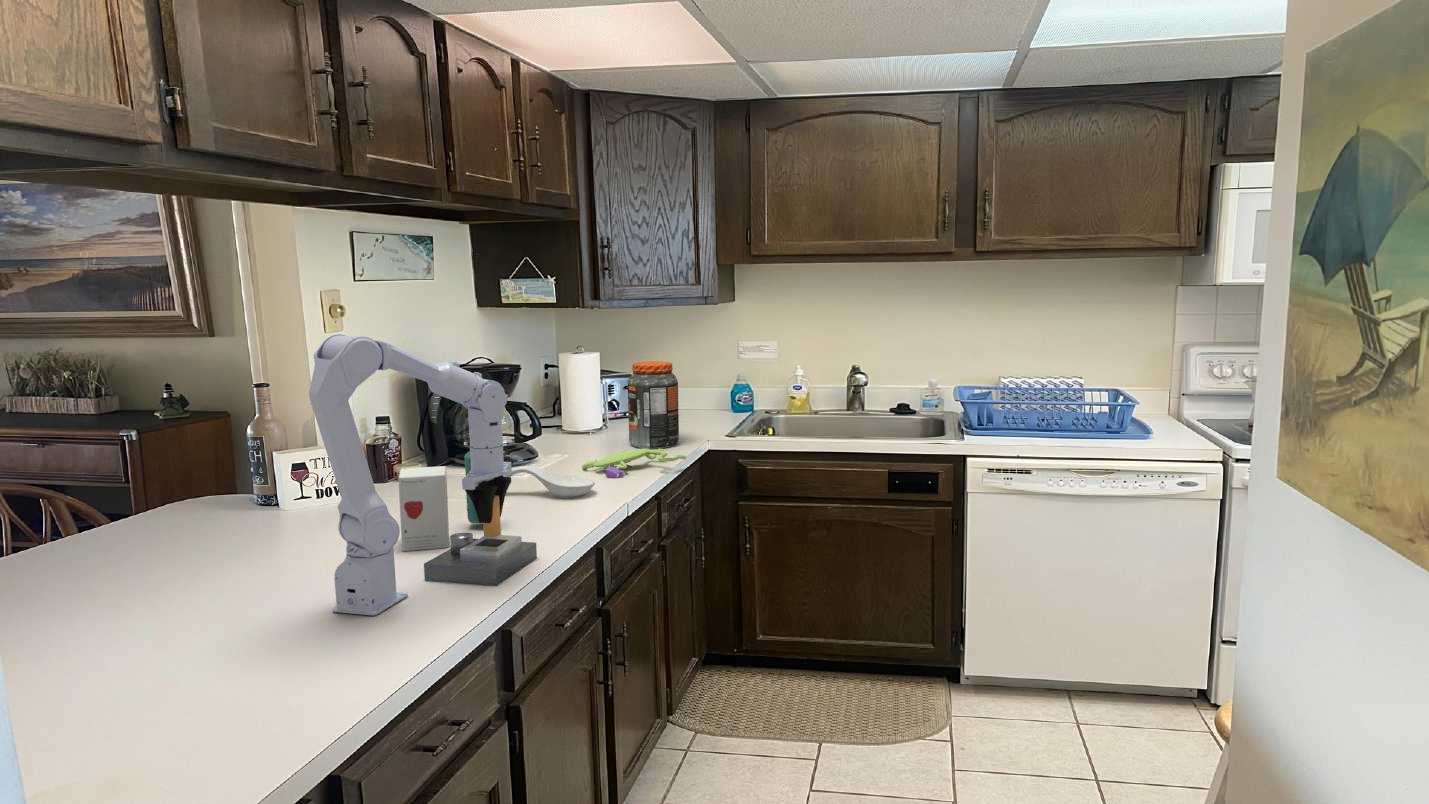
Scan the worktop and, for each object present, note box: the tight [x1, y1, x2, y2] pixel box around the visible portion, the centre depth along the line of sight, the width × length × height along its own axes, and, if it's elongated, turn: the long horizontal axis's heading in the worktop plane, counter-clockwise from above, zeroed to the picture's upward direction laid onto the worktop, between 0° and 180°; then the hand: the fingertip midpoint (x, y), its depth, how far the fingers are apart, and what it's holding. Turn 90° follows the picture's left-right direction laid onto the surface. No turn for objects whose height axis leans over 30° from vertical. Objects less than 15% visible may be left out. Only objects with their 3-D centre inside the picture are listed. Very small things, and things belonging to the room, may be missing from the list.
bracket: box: [460, 534, 523, 563], centre depth 166 cm, size 10×7×2 cm
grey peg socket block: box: [423, 532, 538, 587], centre depth 167 cm, size 16×14×6 cm
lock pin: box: [482, 495, 502, 537], centre depth 165 cm, size 3×3×7 cm
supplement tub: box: [627, 361, 680, 450], centre depth 285 cm, size 16×16×26 cm
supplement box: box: [398, 465, 450, 552], centre depth 182 cm, size 9×9×15 cm
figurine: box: [581, 448, 687, 479], centre depth 250 cm, size 18×27×6 cm
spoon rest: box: [503, 465, 596, 499], centre depth 223 cm, size 24×12×7 cm, turn 88°
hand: (490, 519), depth 165 cm, fingers closed on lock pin, 3 cm apart
